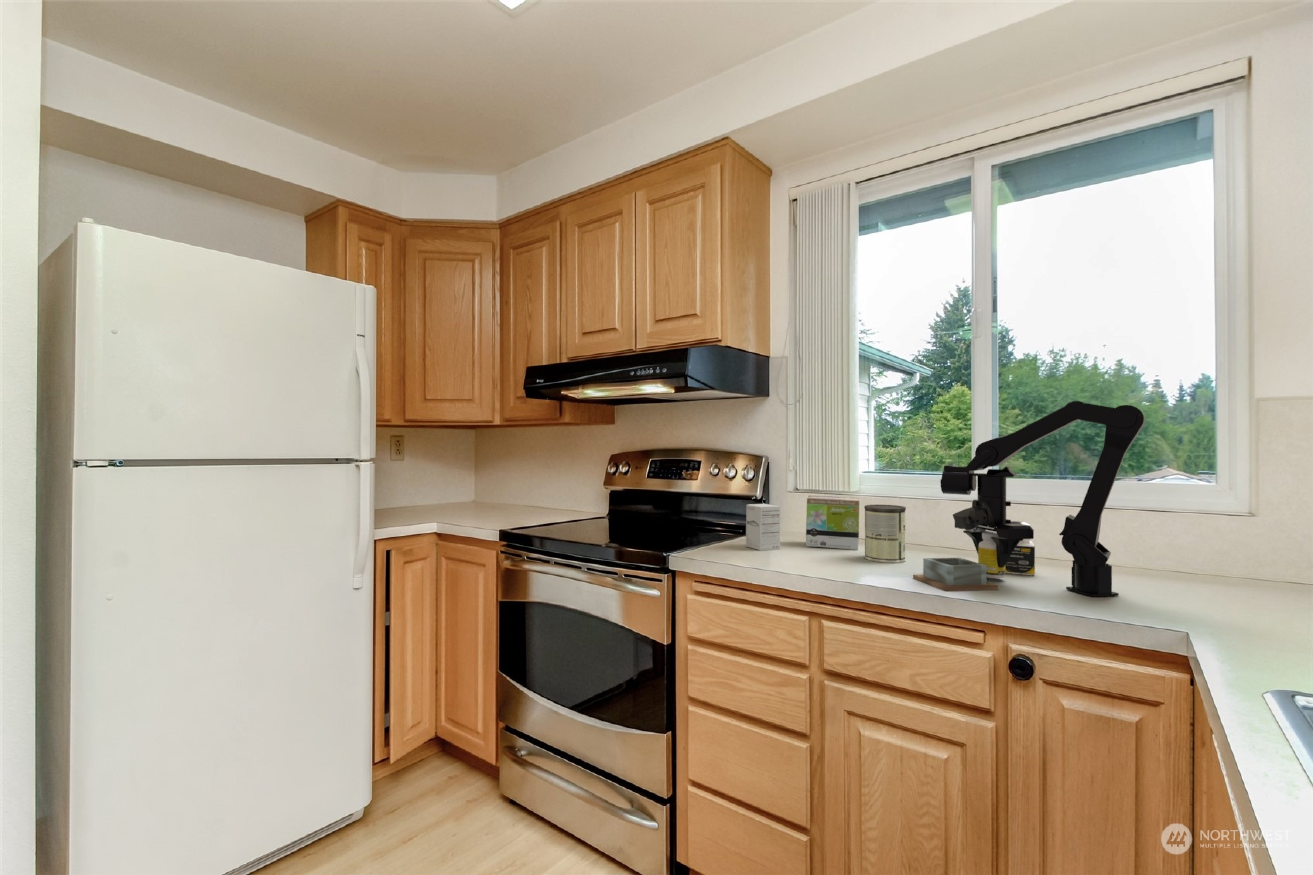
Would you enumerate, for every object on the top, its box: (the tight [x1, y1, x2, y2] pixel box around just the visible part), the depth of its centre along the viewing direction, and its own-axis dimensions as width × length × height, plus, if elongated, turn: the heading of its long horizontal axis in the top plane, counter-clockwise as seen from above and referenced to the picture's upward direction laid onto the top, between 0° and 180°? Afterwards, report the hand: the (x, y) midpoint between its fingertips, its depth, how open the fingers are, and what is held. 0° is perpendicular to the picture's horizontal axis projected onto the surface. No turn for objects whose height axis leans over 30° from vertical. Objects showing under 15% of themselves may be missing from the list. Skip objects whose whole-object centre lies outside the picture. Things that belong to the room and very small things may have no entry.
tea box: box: [805, 495, 860, 551], centre depth 178 cm, size 15×10×15 cm, turn 73°
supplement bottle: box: [977, 531, 1006, 579], centre depth 135 cm, size 5×5×10 cm
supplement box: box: [745, 503, 781, 551], centre depth 174 cm, size 7×7×13 cm
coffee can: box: [863, 504, 907, 564], centre depth 158 cm, size 10×10×14 cm
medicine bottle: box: [1005, 520, 1036, 576], centre depth 144 cm, size 7×7×12 cm
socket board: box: [912, 557, 999, 592], centre depth 131 cm, size 12×12×5 cm
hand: (991, 564), depth 135 cm, fingers closed on supplement bottle, 5 cm apart
